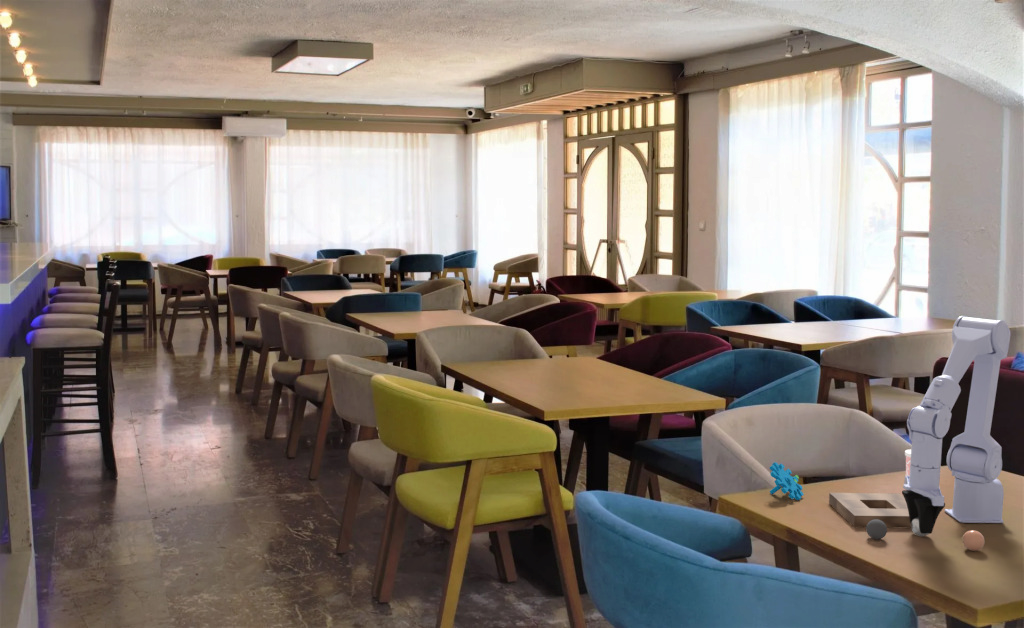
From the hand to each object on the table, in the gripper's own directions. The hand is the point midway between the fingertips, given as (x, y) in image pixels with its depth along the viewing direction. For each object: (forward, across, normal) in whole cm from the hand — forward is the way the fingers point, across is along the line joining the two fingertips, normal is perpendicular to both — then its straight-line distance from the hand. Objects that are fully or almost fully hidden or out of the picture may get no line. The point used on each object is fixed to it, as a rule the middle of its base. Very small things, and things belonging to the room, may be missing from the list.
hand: (920, 529), depth 203 cm
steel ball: (-1, 0, 0) cm, 1 cm away
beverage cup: (+2, -33, +13) cm, 36 cm away
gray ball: (-1, +2, -10) cm, 10 cm away
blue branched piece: (+2, -26, -20) cm, 33 cm away
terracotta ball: (-1, +8, +7) cm, 11 cm away
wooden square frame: (+1, -13, -4) cm, 14 cm away
